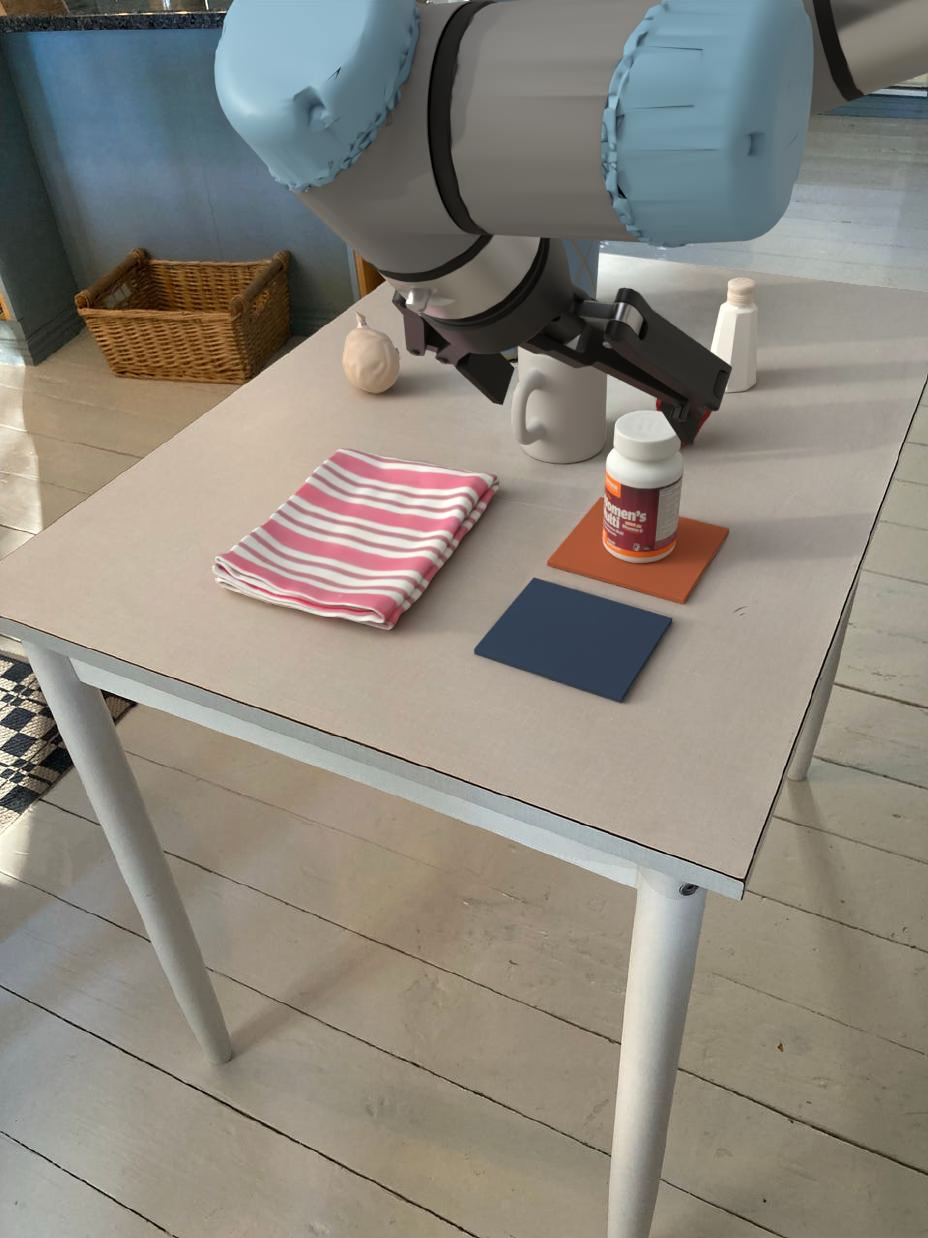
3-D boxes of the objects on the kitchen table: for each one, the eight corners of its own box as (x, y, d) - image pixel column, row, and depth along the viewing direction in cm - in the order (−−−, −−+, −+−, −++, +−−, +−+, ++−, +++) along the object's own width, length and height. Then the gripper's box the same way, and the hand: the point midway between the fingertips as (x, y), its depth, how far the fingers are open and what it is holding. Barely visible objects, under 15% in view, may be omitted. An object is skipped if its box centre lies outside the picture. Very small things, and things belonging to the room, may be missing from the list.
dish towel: (210, 596, 83) (200, 562, 81) (347, 460, 99) (342, 428, 97) (391, 643, 77) (386, 607, 75) (505, 490, 93) (504, 457, 91)
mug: (550, 414, 104) (550, 312, 97) (621, 435, 100) (626, 331, 93) (481, 464, 97) (476, 358, 90) (554, 489, 93) (554, 380, 86)
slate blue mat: (672, 622, 77) (672, 617, 77) (621, 703, 70) (621, 698, 70) (533, 581, 82) (533, 576, 82) (473, 653, 75) (473, 648, 75)
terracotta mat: (728, 533, 86) (729, 528, 85) (683, 604, 79) (684, 599, 78) (600, 501, 91) (600, 496, 90) (546, 565, 84) (547, 560, 83)
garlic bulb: (407, 375, 113) (400, 307, 108) (399, 401, 108) (391, 331, 103) (350, 375, 114) (341, 307, 109) (339, 401, 109) (329, 332, 104)
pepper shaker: (766, 385, 106) (781, 283, 99) (725, 397, 105) (737, 295, 98) (734, 366, 110) (746, 267, 103) (693, 378, 108) (703, 278, 102)
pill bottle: (588, 549, 84) (591, 430, 77) (627, 516, 88) (634, 399, 80) (651, 574, 81) (661, 452, 74) (689, 539, 84) (702, 419, 77)
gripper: (239, 289, 52) (417, 421, 71) (702, 369, 41) (764, 499, 60) (284, 152, 52) (450, 321, 71) (757, 198, 41) (801, 382, 61)
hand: (594, 403), depth 66 cm, fingers open, 13 cm apart
